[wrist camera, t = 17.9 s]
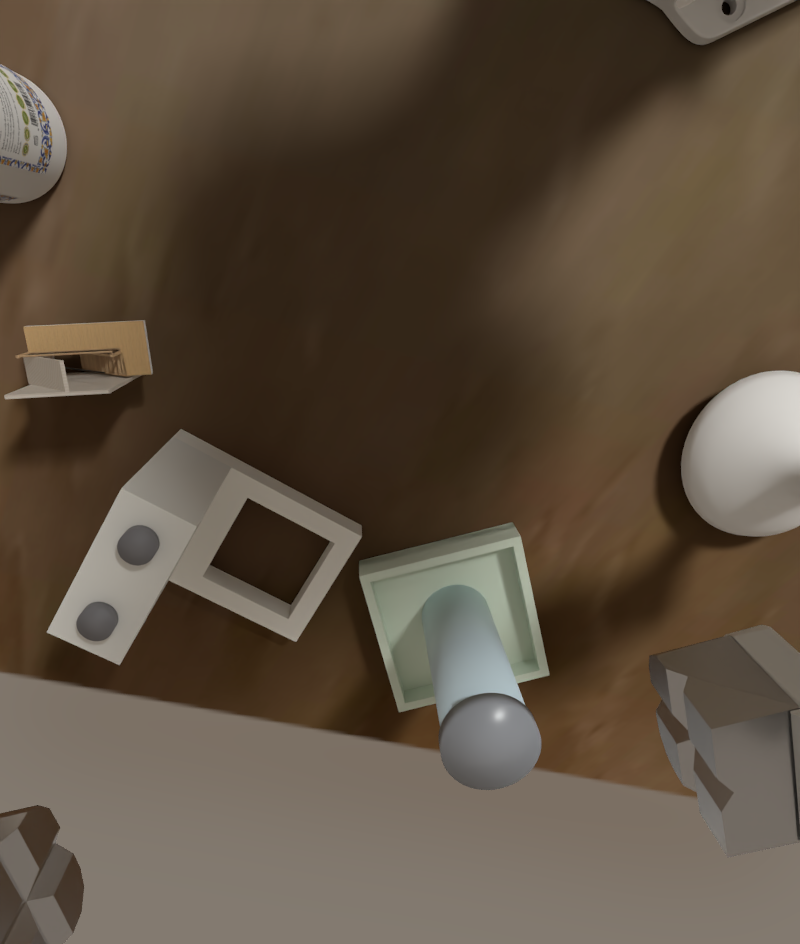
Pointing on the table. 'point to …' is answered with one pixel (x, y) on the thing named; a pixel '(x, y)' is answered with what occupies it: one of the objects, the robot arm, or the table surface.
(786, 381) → the flower in vase
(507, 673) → the cylinder
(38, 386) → the architectural model
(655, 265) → the table surface
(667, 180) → the table surface
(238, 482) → the base
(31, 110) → the bath foam
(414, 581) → the tray
